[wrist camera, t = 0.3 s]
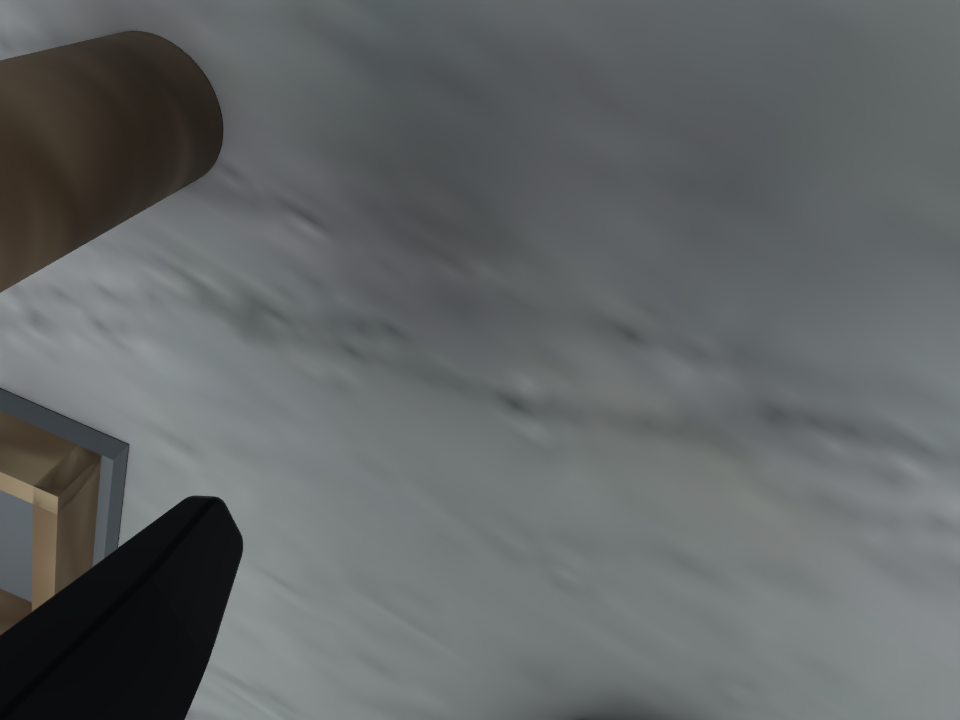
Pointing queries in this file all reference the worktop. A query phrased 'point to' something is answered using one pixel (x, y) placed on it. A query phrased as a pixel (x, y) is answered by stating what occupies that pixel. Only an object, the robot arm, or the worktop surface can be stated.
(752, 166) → the worktop surface
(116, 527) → the keyhole plate
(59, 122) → the walnut peg
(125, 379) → the worktop surface
